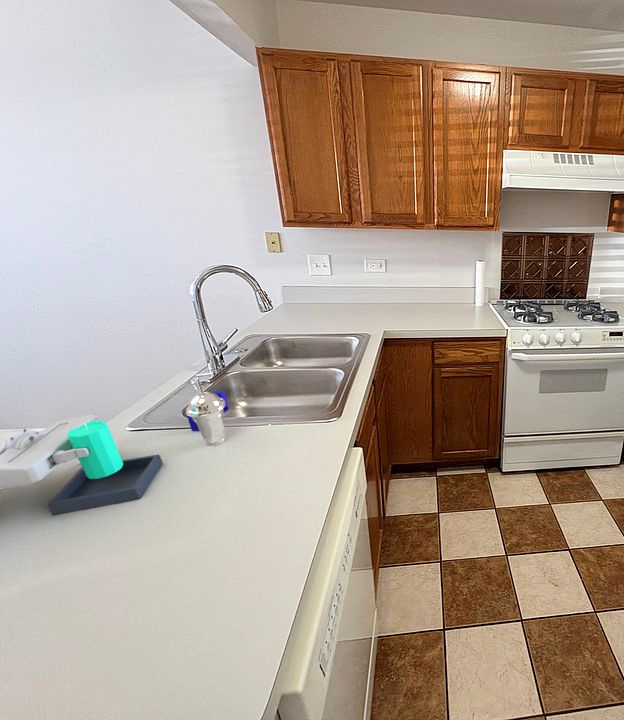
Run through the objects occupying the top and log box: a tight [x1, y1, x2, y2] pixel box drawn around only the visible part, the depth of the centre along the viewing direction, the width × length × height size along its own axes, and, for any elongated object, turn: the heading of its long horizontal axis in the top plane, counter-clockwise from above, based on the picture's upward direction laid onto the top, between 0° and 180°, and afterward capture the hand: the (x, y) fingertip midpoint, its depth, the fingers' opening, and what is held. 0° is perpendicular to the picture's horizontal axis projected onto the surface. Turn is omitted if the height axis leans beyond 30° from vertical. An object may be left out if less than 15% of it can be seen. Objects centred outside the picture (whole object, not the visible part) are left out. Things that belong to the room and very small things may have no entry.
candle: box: [67, 420, 123, 479], centre depth 83 cm, size 6×6×12 cm
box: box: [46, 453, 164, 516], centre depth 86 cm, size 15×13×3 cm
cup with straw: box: [185, 371, 227, 447], centre depth 99 cm, size 8×9×20 cm
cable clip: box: [186, 390, 230, 432], centre depth 112 cm, size 12×4×6 cm, turn 179°
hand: (98, 442), depth 83 cm, fingers closed on candle, 5 cm apart
